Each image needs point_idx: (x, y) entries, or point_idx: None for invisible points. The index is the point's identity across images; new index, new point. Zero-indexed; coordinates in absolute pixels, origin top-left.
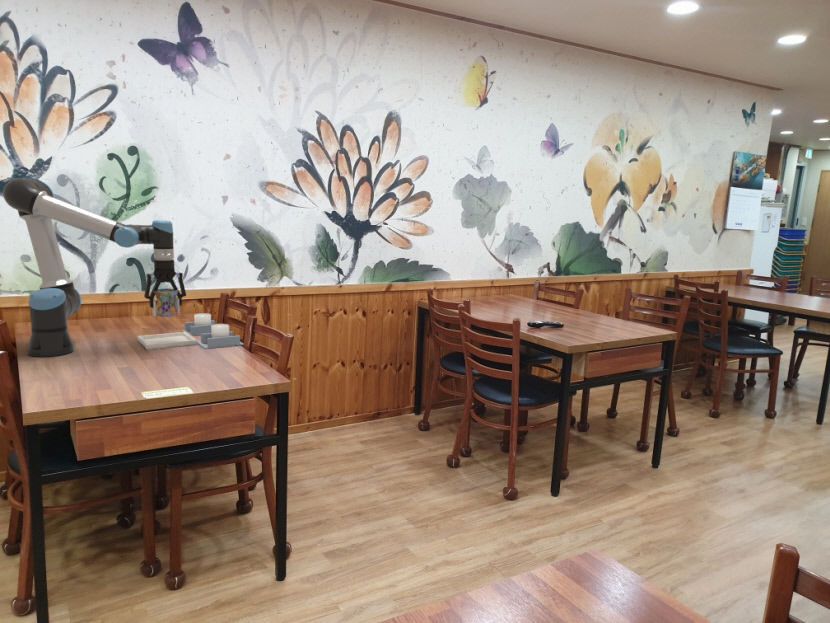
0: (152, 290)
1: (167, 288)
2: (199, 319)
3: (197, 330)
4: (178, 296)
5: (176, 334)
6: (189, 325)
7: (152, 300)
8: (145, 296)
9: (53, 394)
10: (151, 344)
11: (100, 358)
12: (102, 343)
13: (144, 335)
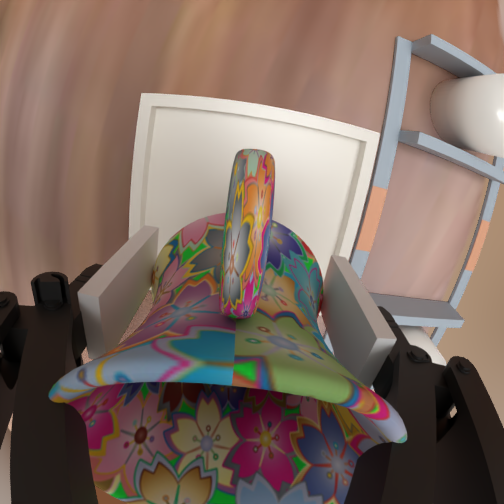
0: (26, 397)
1: (338, 403)
2: (479, 137)
3: (431, 151)
4: None
5: (331, 132)
6: (439, 54)
7: (82, 338)
8: (4, 358)
9: (12, 415)
10: None
11: (20, 291)
12: (37, 89)
13: (172, 95)
